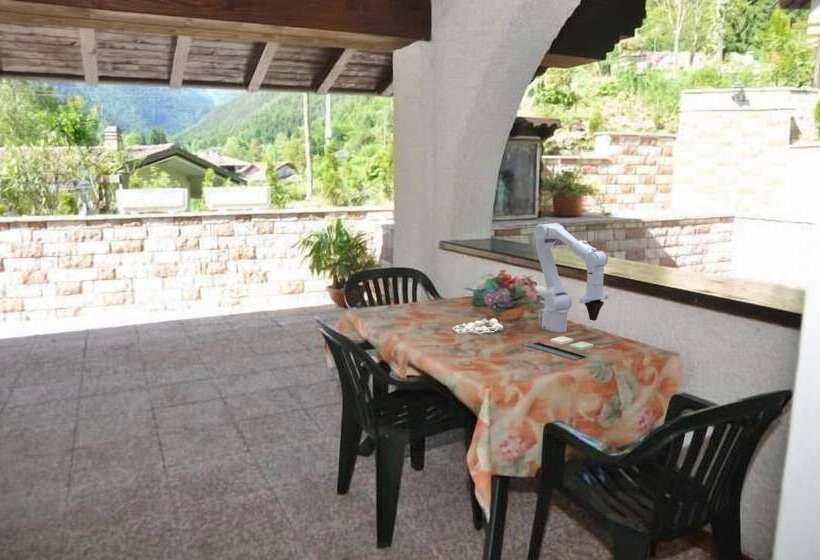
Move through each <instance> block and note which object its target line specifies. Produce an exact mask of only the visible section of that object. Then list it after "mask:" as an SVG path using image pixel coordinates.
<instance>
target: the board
mask: <svg viewBox="0 0 820 560" xmlns="http://www.w3.org/2000/svg"><path fill="white" fill-rule="evenodd" d="M561 336H564V337H568V338H572V339H574V340H573V342H575V343H578V342H586V343H590V344H594V347H595V348H598V349H603V348H605V347H609V346H613V345H617V344H620V343H624V340H619V339H615V338H611V337H606V336H603V335H599V334H594V333H591V332H588V331H583V330H576V331H572V332H568V333H564V334H560V335H556V338H557V337H561ZM594 347H593V348H594Z"/></svg>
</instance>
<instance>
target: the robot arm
mask: <svg viewBox="0 0 820 560" xmlns="http://www.w3.org/2000/svg"><path fill="white" fill-rule="evenodd" d="M533 236H534V239H535V247H536V248H535V249H536V253H537V257H538V260H539V263H540V267H541V271H542V274H543V277H544V281H545V284H546V287H547V288H546V290H547V292H546V293H545V294H544V297H545V298H544V307H545V309H546V310H544V312H543V313H542V317H541V329H542V330H546V331H550V332H552V333H565V332H567V331H568V312H570V308H571V307H572V305H573V300H572V297H571V295H570V294H569V291H568V289H566V288H565V287H563V285H562V282H561V279H560V276H559V275H560V274H559V273H558V272H559V271H558V268H557V266H556V262H555V258H554V255H553V252H552V247H553V245H554V244H555V243H556V242H558V241H559V240H560V241H561V242H562V243H564V244H566V245H567V246H568V247H571V249H572V252H573V253H574V254H575V256H578V257H579V258H580V259H581V260H583V261H584V265H585V266H586V272H587V275H586V277H587V278H586V294H585V295H583V296H581V297H578V303H579V304H582V305H585V308H586V310H587V313H588V317H589V321H594V322H595V321H598V316H599V313H600V311H601V309H602V307H603V305H604V304H605V303H604V301H602V300H609V296H610V295H609V293H606V292H604V276H605V266H606V265H607V264H608V260H609V258H608V254H607V253H606V252H605V251H604V250H597V248H596V247H593V246H592V245H590V244H588V241H587V240H578V239H577V238H576V237H574V235H572V234H571V233H569V232H568V231H567V230H566V229H565V227H564V226H563V225H561V224H560V223H558V222H554V223H539V224H537V225H536V227H535V228H534V231H533Z"/></svg>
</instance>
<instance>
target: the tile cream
mask: <svg viewBox="0 0 820 560" xmlns="http://www.w3.org/2000/svg"><path fill="white" fill-rule="evenodd" d="M573 340H574V339H572V338H568V337H564V336H561V337H557V336H556V337H553V338H550V339H549V343H550V342H551V343H554V344H557V345H561V346H562V345H564V344H570V343H572V342H574V341H573Z"/></svg>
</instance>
